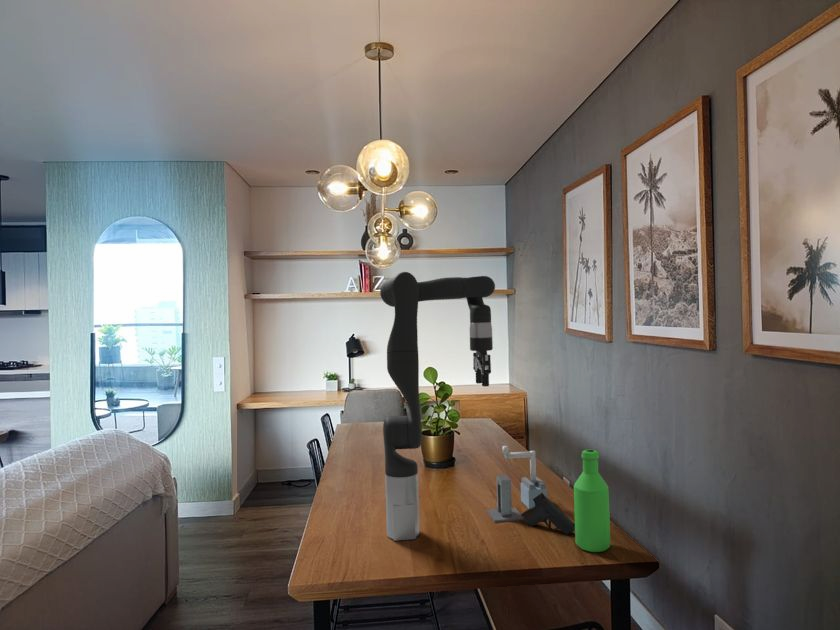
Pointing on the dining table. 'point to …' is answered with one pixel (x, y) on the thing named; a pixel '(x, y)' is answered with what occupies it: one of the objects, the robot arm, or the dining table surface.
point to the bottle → (591, 506)
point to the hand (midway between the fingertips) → (482, 384)
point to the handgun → (548, 515)
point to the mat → (498, 518)
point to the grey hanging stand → (531, 486)
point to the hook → (504, 495)
